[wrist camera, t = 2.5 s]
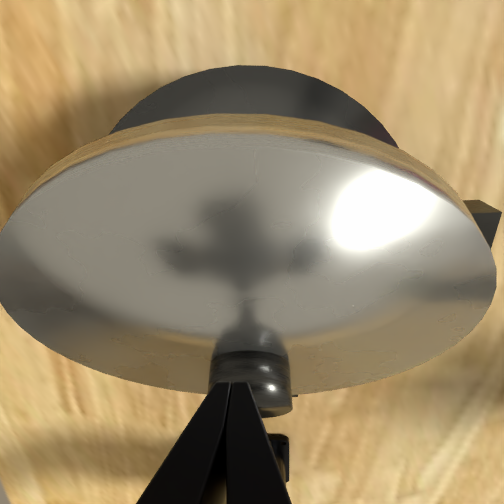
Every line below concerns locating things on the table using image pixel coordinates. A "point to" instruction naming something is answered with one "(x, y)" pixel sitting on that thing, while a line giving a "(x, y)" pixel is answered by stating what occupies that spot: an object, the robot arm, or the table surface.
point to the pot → (273, 109)
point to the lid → (245, 257)
